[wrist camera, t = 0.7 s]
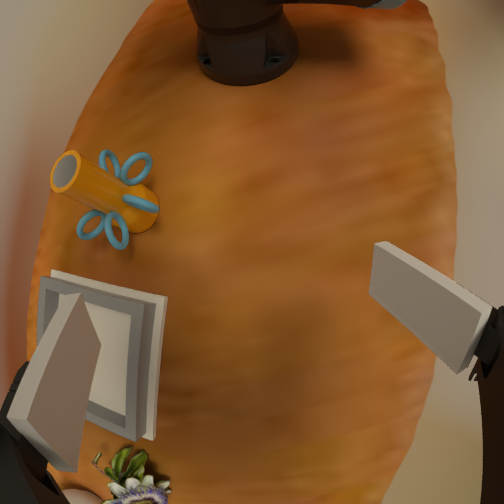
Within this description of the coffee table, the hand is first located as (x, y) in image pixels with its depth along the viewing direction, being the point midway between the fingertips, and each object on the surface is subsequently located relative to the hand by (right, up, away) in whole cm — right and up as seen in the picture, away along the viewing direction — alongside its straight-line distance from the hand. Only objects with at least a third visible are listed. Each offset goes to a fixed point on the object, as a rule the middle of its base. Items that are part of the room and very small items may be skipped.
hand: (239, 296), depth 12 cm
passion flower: (-16, -32, +20) cm, 40 cm away
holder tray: (-21, -12, +22) cm, 33 cm away
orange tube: (-14, +7, +24) cm, 29 cm away
